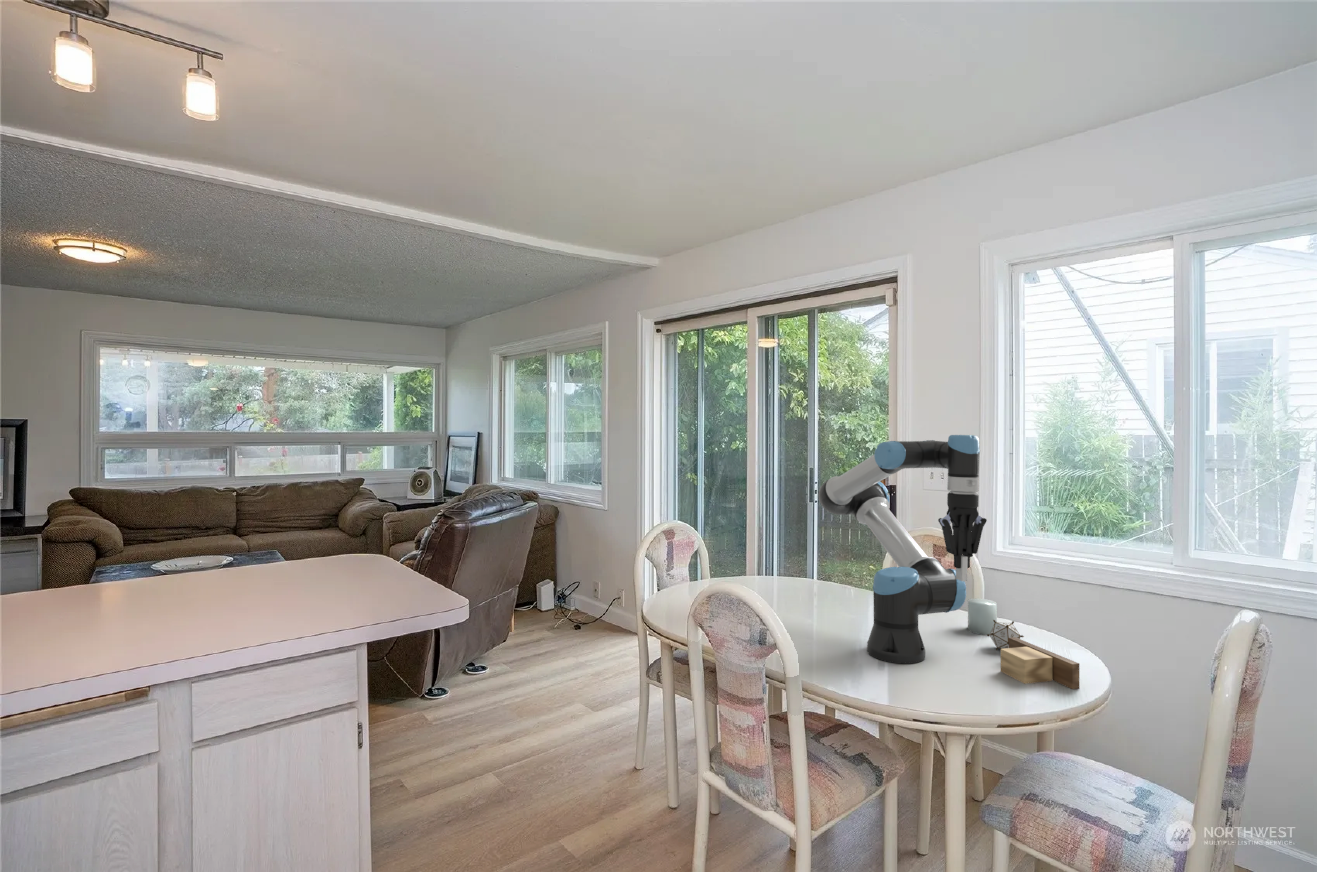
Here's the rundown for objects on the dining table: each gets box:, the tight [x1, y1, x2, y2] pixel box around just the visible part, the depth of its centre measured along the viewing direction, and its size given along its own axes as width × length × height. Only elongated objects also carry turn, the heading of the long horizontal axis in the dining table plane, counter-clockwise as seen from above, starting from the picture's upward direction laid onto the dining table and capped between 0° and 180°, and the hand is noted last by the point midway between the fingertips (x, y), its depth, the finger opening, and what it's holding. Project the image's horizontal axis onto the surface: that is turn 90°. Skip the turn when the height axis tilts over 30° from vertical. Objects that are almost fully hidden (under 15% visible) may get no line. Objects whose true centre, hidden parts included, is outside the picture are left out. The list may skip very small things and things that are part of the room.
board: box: [1009, 637, 1080, 690], centre depth 161 cm, size 2×20×6 cm, turn 13°
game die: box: [986, 620, 1025, 651], centre depth 178 cm, size 9×8×10 cm
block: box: [1000, 647, 1053, 685], centre depth 159 cm, size 8×8×6 cm
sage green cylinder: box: [967, 597, 998, 636], centre depth 195 cm, size 8×8×9 cm
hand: (961, 579), depth 169 cm, fingers closed
